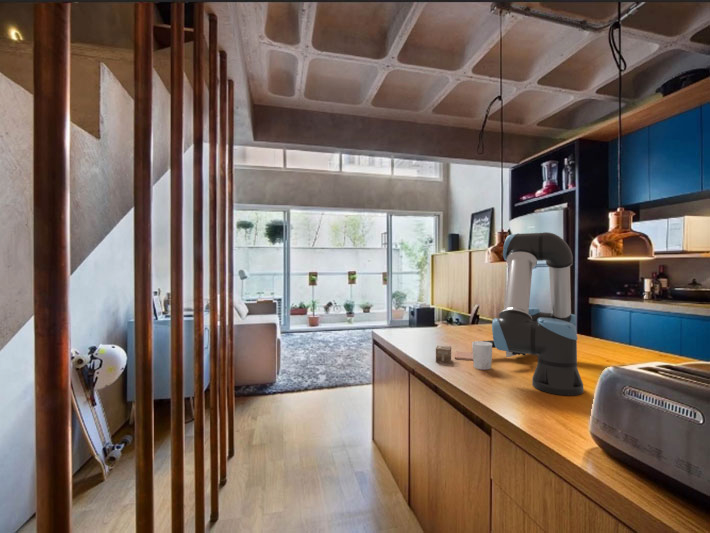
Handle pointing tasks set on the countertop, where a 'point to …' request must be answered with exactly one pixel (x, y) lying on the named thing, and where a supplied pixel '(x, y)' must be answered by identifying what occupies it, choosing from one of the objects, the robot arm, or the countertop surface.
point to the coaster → (464, 355)
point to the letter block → (443, 354)
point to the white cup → (482, 354)
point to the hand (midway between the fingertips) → (492, 350)
